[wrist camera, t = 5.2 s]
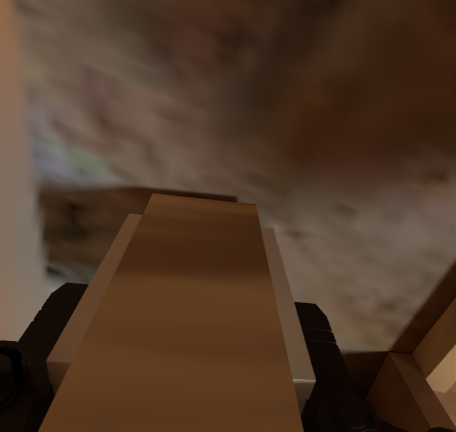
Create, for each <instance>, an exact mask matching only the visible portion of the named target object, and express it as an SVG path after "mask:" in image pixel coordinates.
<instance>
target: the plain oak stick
mask: <svg viewBox="0 0 456 432" xmlns="http://www.w3.org/2000/svg"><path fill="white" fill-rule="evenodd" d="M411 356H412V358H413V360H414V361H415V363H416V364H417V366H418V368H419V369H420V371H421V372H422V374H423V376H424V377H425V379H426V380H427V382H428V384H429V385H430V387H431V388H432V390H434V391H439V392H444V393H445V392H446V391H447V390H448V389H449V388H450V387H451V386H452V385H453V384H454V383H455V382H456V298H455V299H454V301H453V302H452V303H451V304H450V306H449V307H448V308H447V309H446V311H445V312H444V313H443V314H442V316H441V317H440V318H439V319H438V321H437V322H436V323H435V325H434V326H433V327H432V328H431V330H430V331H429V332H428V333H427V335H426V336H425V337H424V338H423V340H422V341H421V342H420V343H419V345H418V346H417V347H416V348H415V350H414V351H413V352H412V353H411Z"/></svg>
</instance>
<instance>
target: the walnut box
mask: <svg viewBox="0 0 456 432" xmlns="http://www.w3.org/2000/svg"><path fill="white" fill-rule="evenodd" d="M364 401H365V402H367V403H368V404H369V405H370V406H371V408H372V409H373V410H374V411H375V413H376V414H377V416H378V418H380V419H381V420H383V421H385V422H387V423H389V424H391V425H393V426H396V427H398V428H401V429H403V430H406V431H409V432H427V431H428V430H429V429H430V428H435V427H443V428H448V429H452V430H454V431H455V432H456V427H455V425H454V424H453V422H452V421H451V419H450V417H449V416H448V414H447V412H446V411H445V409H444V408H443V406H442V404H441V403H440V401H439V400H438V398H437V396H436V395H435V393H434V392H433V390H432V388H431V387H430V385H429V384H428V382H427V380H426V379H425V377H424V376H423V374H422V372H421V371H420V369H419V368H418V366H417V364H416V363H415V361H414V360H413V358H412V356H411V355H410V354H409V353H397V352H388V354H387V356H386V358H385V360H384V362H383V364H382V366H381V368H380V370H379V372H378V374H377V376H376V378H375V380H374V382H373V384H372V386H371V388H370V390H369V392H368V394H367V396H366V398H365V400H364Z"/></svg>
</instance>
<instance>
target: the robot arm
mask: <svg viewBox="0 0 456 432" xmlns="http://www.w3.org/2000/svg"><path fill="white" fill-rule="evenodd" d="M141 217H142V215H141V214H131V213H129V215H128V216H127V218H126V220H125V222H124V223H123V225H122V227H121V229H120V231H119V232H118V234H117V236H116V238H115V239H114V241H113V243H112V245H111V247H110V248H109V250H108V252H107V254H106V255H105V257H104V259H103V261H102V263H101V264H100V266H99V268H98V270H97V271H96V273H95V275H94V277H93V279H92V280H91V282H90V284H89V285H87V284H76V283H65V284H64V285H62V286H61V287H60V288H58V289H57V290H56V291H54V292H53V293H51V295H50V296H49V298H48V299H47V300H46V302H45V303H44V305H43V306H42V309H41V310H40V311H39V312H38V313H37V315H36V316H35V318H34V321H33V322H31V323H30V325H29V326H28V328H27V329H26V331H25V332H24V334H23V335H22V337H21V338H20V339H19V341H18V342H16V341H4V340H2V341H0V432H38V431H39V429H40V427H41V424H42V422H43V420H44V418H45V416H46V414H47V412H48V410H49V408H50V406H51V404H52V402H53V400H54V397H55V395H56V393H57V391H58V389H59V387H60V385H61V383H62V381H63V379H64V377H65V375H66V372H67V370H68V368H69V366H70V364H71V362H72V360H73V358H74V356H75V354H76V352H77V350H78V348H79V345H80V343H81V341H82V339H83V337H84V335H85V333H86V331H87V329H88V327H89V325H90V323H91V321H92V318H93V316H94V314H95V312H96V310H97V308H98V306H99V304H100V302H101V300H102V298H103V296H104V294H105V291H106V289H107V287H108V285H109V283H110V281H111V279H112V277H113V275H114V273H115V271H116V269H117V267H118V264H119V262H120V260H121V258H122V256H123V254H124V252H125V250H126V248H127V246H128V244H129V242H130V240H131V237H132V235H133V233H134V231H135V229H136V227H137V225H138V223H139V221H140V219H141ZM261 232H262V237H263V241H264V246H265V251H266V256H267V260H268V265H269V270H270V275H271V279H272V284H273V289H274V293H275V298H276V303H277V308H278V312H279V317H280V322H281V327H282V331H283V336H284V341H285V345H286V350H287V355H288V360H289V364H290V369H291V374H292V379H293V383H294V388H295V393H296V397H297V402H298V407H299V412H300V416H301V421H302V426H303V431H304V432H409V431H406V430H403V429H401V428H398V427H396V426H393V425H391V424H389V423H387V422H385V421H383V420H381V419H380V418H378V416H377V414H376V413H375V411H374V410H373V409H372V408H371V406H370V405H369V404H368V403H367V402H365V401H364V400H363V399H361V398H360V397H359V396H358V395H357V393H356V391H355V389H354V386H353V384H352V381H351V379H350V376H349V373H348V371H347V368H346V366H345V363H344V361H343V358H342V355H341V353H340V350H339V348H338V345H336V340H335V337H334V335H333V333H332V329H331V327H330V324H329V322H328V319H327V317H326V315H325V314H324V313H323V312H322V311H321V310H320V308H319V307H318V306H317V305H316V304H312V303H301V302H294V301H293V297H292V293H291V290H290V286H289V283H288V279H287V276H286V272H285V268H284V265H283V261H282V258H281V254H280V251H279V247H278V243H277V240H276V236H275V233H274V229H273V228H265V227H261ZM427 432H455V431H454V430H452V429H448V428H443V427H435V428H430V429H429V430H428V431H427Z"/></svg>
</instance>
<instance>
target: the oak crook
mask: <svg viewBox="0 0 456 432" xmlns="http://www.w3.org/2000/svg"><path fill="white" fill-rule="evenodd" d="M38 432H304V431H303V426H302V421H301V416H300V412H299V407H298V402H297V397H296V393H295V388H294V383H293V379H292V374H291V369H290V364H289V360H288V355H287V350H286V345H285V341H284V336H283V331H282V327H281V322H280V317H279V312H278V308H277V303H276V298H275V293H274V289H273V284H272V279H271V275H270V270H269V265H268V260H267V256H266V251H265V246H264V241H263V237H262V232H261V227H260V223H259V218H258V213H257V208H256V205H255V204H246V203H237V202H228V201H219V200H210V199H201V198H192V197H183V196H174V195H165V194H156V193H153V194H152V196H151V198H150V200H149V202H148V204H147V206H146V208H145V210H144V212H143V215H142V217H141V219H140V221H139V223H138V225H137V227H136V229H135V231H134V233H133V235H132V237H131V240H130V242H129V244H128V246H127V248H126V250H125V252H124V254H123V256H122V258H121V260H120V262H119V264H118V267H117V269H116V271H115V273H114V275H113V277H112V279H111V281H110V283H109V285H108V287H107V289H106V291H105V294H104V296H103V298H102V300H101V302H100V304H99V306H98V308H97V310H96V312H95V314H94V316H93V318H92V321H91V323H90V325H89V327H88V329H87V331H86V333H85V335H84V337H83V339H82V341H81V343H80V345H79V348H78V350H77V352H76V354H75V356H74V358H73V360H72V362H71V364H70V366H69V368H68V370H67V372H66V375H65V377H64V379H63V381H62V383H61V385H60V387H59V389H58V391H57V393H56V395H55V397H54V400H53V402H52V404H51V406H50V408H49V410H48V412H47V414H46V416H45V418H44V420H43V422H42V424H41V427H40V429H39V431H38Z"/></svg>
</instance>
